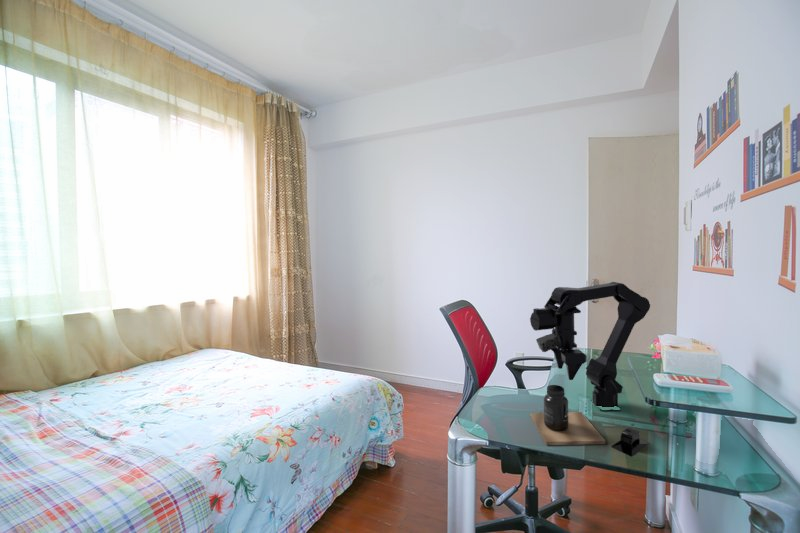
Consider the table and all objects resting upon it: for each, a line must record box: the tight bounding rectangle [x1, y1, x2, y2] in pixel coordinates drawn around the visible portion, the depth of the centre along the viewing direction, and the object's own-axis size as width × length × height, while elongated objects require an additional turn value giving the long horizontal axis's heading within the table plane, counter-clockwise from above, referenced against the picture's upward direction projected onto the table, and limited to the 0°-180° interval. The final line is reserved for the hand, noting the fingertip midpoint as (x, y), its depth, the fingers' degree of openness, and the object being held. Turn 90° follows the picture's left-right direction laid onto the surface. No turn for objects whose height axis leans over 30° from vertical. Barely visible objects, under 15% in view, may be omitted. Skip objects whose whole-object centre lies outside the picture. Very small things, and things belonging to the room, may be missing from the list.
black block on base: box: [610, 426, 650, 458], centre depth 102 cm, size 12×7×5 cm, turn 121°
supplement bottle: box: [543, 384, 569, 431], centre depth 112 cm, size 7×7×12 cm
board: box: [530, 411, 606, 446], centre depth 112 cm, size 16×16×1 cm
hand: (565, 373), depth 120 cm, fingers open, 9 cm apart
